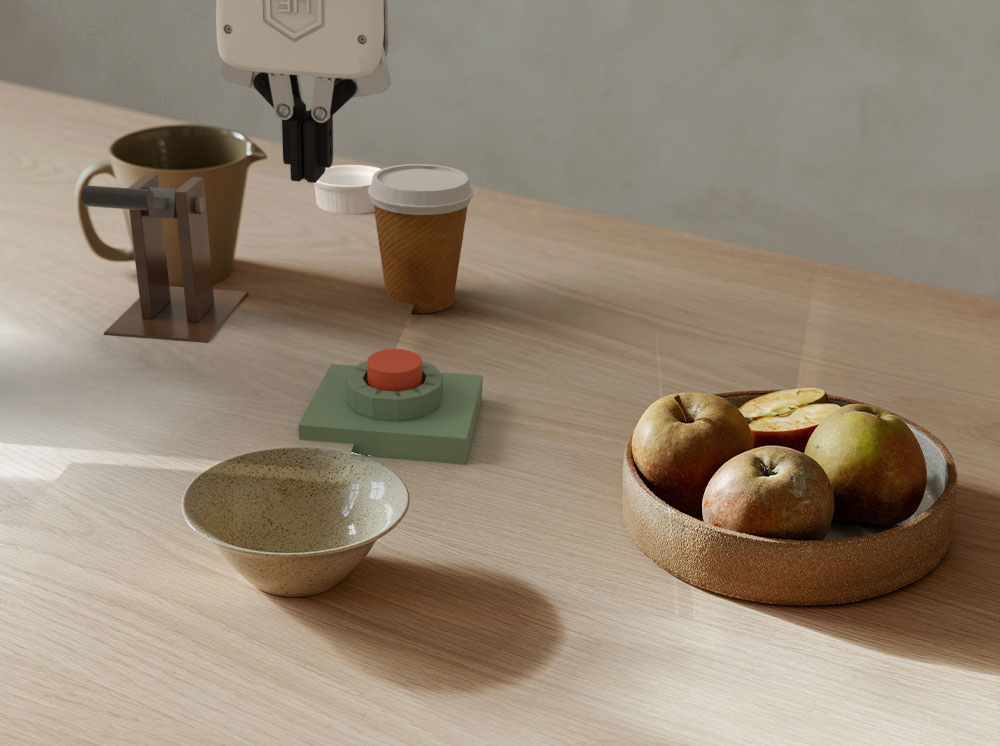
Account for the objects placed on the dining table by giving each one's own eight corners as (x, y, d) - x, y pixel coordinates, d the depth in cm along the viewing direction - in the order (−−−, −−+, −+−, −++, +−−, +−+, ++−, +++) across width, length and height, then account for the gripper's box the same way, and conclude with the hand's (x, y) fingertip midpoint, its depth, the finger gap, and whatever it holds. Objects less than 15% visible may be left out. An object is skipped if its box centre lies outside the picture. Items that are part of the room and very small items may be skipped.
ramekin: (299, 217, 125) (297, 180, 123) (333, 195, 132) (332, 160, 130) (371, 227, 122) (371, 189, 121) (402, 205, 130) (402, 169, 128)
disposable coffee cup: (490, 299, 105) (494, 176, 100) (427, 329, 98) (428, 199, 93) (414, 274, 110) (414, 156, 105) (348, 302, 103) (345, 177, 98)
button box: (299, 451, 79) (296, 401, 77) (331, 388, 88) (330, 342, 86) (466, 465, 78) (467, 415, 76) (482, 399, 87) (483, 354, 85)
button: (362, 391, 79) (361, 370, 79) (373, 367, 83) (373, 346, 82) (417, 396, 79) (417, 374, 78) (426, 371, 83) (426, 350, 82)
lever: (145, 215, 82) (146, 183, 82) (80, 211, 82) (81, 179, 82) (202, 220, 94) (203, 191, 94) (145, 216, 94) (146, 188, 94)
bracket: (209, 353, 92) (196, 206, 87) (104, 345, 93) (85, 198, 87) (248, 303, 102) (239, 168, 96) (153, 296, 103) (139, 161, 97)
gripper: (156, -132, 62) (179, 183, 70) (417, -114, 61) (410, 203, 70) (200, -136, 69) (216, 152, 77) (437, -120, 68) (428, 170, 76)
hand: (308, 175), depth 73 cm, fingers closed
